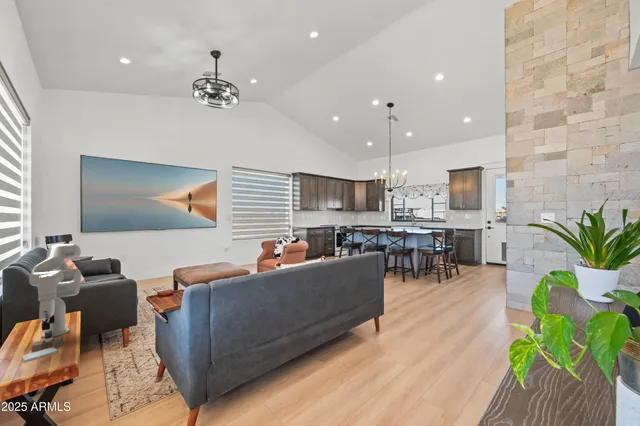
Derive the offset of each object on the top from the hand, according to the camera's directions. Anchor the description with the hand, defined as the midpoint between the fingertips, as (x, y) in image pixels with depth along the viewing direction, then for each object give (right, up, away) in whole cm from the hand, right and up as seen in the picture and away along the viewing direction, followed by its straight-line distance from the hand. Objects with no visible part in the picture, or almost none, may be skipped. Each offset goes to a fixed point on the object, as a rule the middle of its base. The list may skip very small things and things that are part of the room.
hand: (48, 326), depth 161 cm
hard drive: (+5, -12, -10) cm, 17 cm away
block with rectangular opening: (+1, -11, -1) cm, 11 cm away
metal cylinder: (+1, -11, 0) cm, 11 cm away
